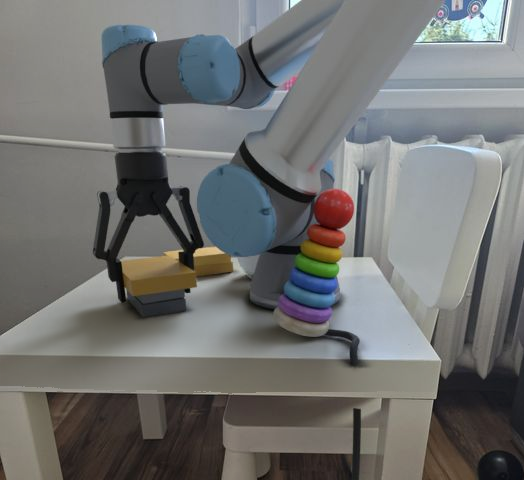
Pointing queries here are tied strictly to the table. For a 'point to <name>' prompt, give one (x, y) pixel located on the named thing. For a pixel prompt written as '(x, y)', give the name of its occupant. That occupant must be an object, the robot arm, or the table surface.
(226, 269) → the mustard pile
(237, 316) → the table surface
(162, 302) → the grey pile
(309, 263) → the stacking toy
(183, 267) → the mustard block
